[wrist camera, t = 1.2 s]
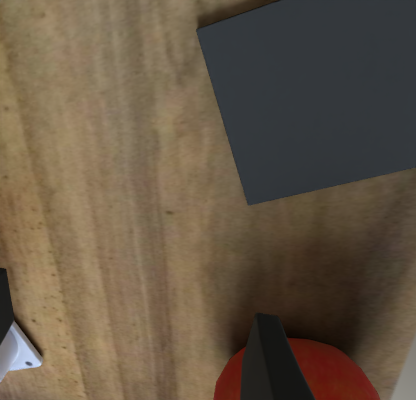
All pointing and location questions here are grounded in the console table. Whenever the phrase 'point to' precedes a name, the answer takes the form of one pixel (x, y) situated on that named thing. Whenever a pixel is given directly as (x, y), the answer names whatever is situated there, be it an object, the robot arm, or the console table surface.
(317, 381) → the apple
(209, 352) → the console table surface
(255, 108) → the mat
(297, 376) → the robot arm
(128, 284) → the console table surface
